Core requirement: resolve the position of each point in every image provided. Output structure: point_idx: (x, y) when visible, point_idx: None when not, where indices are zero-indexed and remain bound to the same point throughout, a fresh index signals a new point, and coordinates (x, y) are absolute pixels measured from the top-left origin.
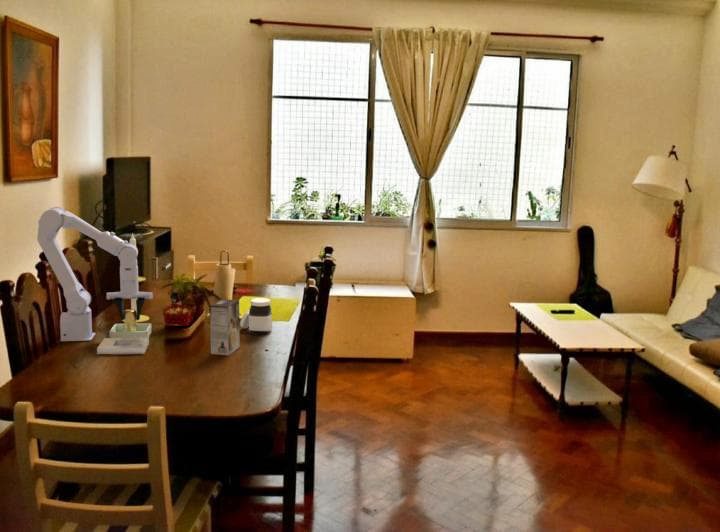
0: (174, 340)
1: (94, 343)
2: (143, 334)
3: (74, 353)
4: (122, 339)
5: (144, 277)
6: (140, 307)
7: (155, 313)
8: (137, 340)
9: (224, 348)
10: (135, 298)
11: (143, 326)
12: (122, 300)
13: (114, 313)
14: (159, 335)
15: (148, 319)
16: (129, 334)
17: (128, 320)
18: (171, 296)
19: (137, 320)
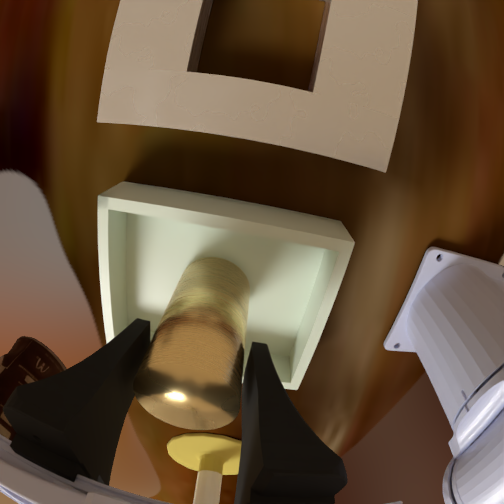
0: (16, 161)
1: (416, 199)
2: (128, 193)
3: (495, 67)
4: (267, 104)
5: None
6: (67, 372)
7: (159, 470)
8: (165, 60)
9: None
10: (98, 483)
11: None
12: (244, 498)
13: None
14: (80, 259)
15: (167, 443)
16: (217, 208)
17: (210, 317)
18: None
19: (202, 443)
